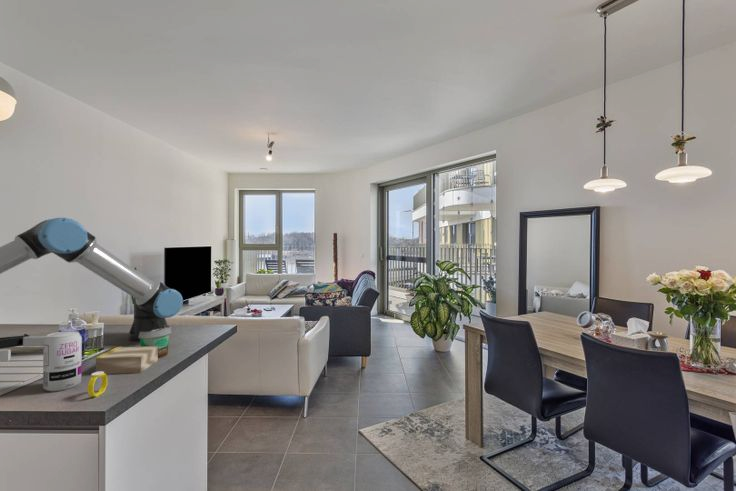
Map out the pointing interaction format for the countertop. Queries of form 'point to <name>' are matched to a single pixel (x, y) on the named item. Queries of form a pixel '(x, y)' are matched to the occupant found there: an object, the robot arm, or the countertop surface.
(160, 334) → the food container
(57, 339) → the supplement can
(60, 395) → the countertop surface
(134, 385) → the countertop surface
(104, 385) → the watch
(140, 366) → the loading dock
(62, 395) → the countertop surface
